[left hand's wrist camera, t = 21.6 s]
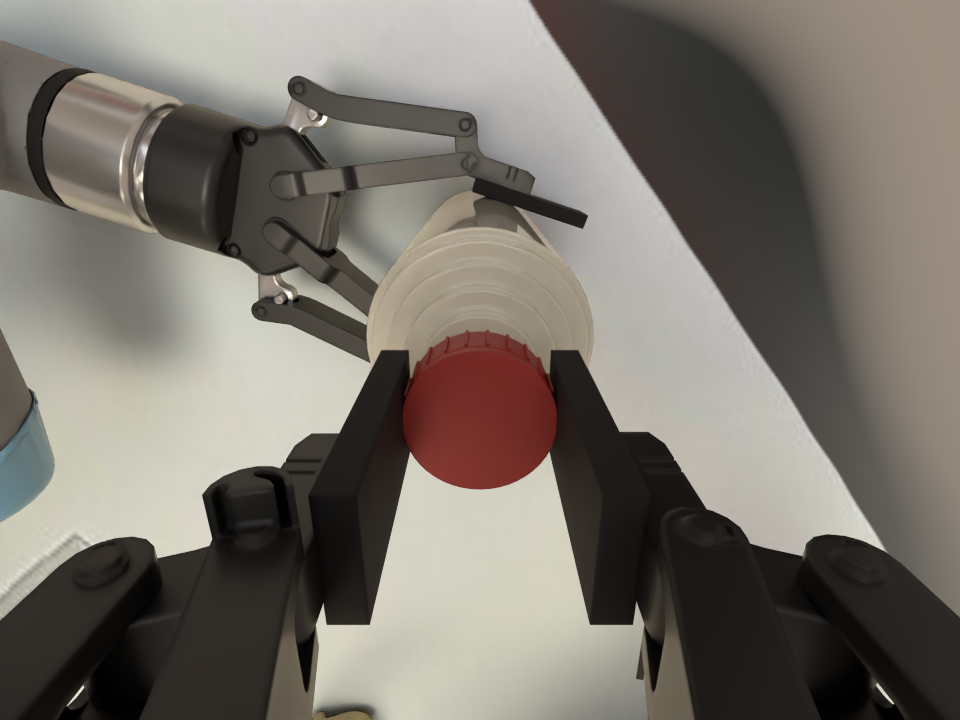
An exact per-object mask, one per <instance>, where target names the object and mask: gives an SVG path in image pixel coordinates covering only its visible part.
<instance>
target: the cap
mask: <svg viewBox="0 0 960 720" xmlns="http://www.w3.org/2000/svg"><path fill="white" fill-rule="evenodd" d="M554 392H555V391H554V388H553V385H552V382H551V378H550V375H549V373H547V374H546V371H545V369H544V367H543V365H542V362H541V359H540V357H538V358H537V357H536V356H535V355H534V354H533V353H532V352H531V351H530V350H529V349H528V347H527V345H526V344H525V343H524V345H523V344H521V343H520V342H518V341H516V340H514V339H512V338H510V336H509V335H508V334H506V336H504V335H501V334H498V333H493V332H489V330H486V332H481V331H477V332H469V331H468V330H466V331H465V333H462V334H458V335H455V336H452V337H450V338H449V336H447V337H446V338H445V340H443V341H442V342H440V343H439V344H437V345H436V346H434V347H433V348H432V347H429V350H428V352H427V353H426V354H425V356H424V357H423V358H422V359H421V360H420V361H417V362H416V365H415V369H414V372H413V375H412V378H411V377H409V380H408V383H407V387H406V390H405V393H404V397H406V398H405V402H404V405H403V430H404V438H405V441H406V444H407V446H408V448H409V450H410V452H411V453H412V455H413V456H414V458H415V459H416V460H417V462H418V463H419V464H420V465H421V466H422V467H423V468H424V469H425V470H426V471H428V472H429V473H430V474H432V475H433V476H435V477H436V478H438V479H440V480H442V481H444V482H446V483H449V484H451V485H454V486H458V487H462V488H468V489H492V488H497V487H502V486H505V485H508V484H511V483H513V482H516V481H518V480H520V479H522V478H523V477H525V476H527V475H528V474H529V473H531V472H532V471H533V470H534V469H535V468H537V467H538V466H539V465H540V464H541V462H542V461H543V460H544V459H545V457H546V456H547V454H548V453H549V451H550V449H551V447H552V445H553V443H554V440H555V437H556V424H557V407H556V403H555V399H554V396H553V393H554Z"/></svg>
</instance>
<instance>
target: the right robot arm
mask: <svg viewBox="0 0 960 720" xmlns="http://www.w3.org/2000/svg"><path fill="white" fill-rule="evenodd" d="M288 91H289V94H290V96H291V97H292V99H291V102H290V105H289V108H288V111H287V114H286V117H285V120H284V123H283V125H276V126H272V127H262V126H259V125H256V124H252V123H249V122H246V121H243V120H240V119H237V118H234V117H231V116H228V115H225V114H222V113H219V112H216V111H213V110H210V109H207V108H204V107H201V106H198V105H195V104H185V105H183V104H182V103H181V102H180V101H179V100H177V99H176V98H174V97H171V96H168V95H165V94H162V93H159V92H156V91H153V90H150V89H147V88H144V87H141V86H138V85H135V84H131V83H128V82H125V81H122V80H119V79H116V78H113V77H110V76H107V75H104V74H101V73H96V72H93V71H90V70H86V69H81V68H78V67H75V66H72V65H69V64H66V63H63V62H61V61H58V60H55V59H52V58H49V57H46V56H44V55H41V54H38V53H35V52H32V51H30V50H27V49H24V48H21V47H18V46H15V45H13V44H10V43H7V42H4V41H1V40H0V189H1V190H6V191H11V192H14V193H18V194H22V195H25V196H28V197H32V198H35V199H39V200H42V201H46V202H49V203H52V204H56V205H59V206H63V207H66V208H69V209H72V210H75V211H79V212H82V213H86V214H89V215H92V216H95V217H99V218H102V219H105V220H108V221H111V222H115V223H118V224H121V225H124V226H128V227H131V228H134V229H137V230H141V231H144V232H147V233H160V234H161V235H162V236H164V237H165V238H167V239H171V240H174V241H177V242H181V243H184V244H187V245H191V246H194V247H197V248H200V249H204V250H207V251H210V252H214V253H217V254H220V255H224V256H227V257H231V258H235V259H238V260H240V261H242V262H244V263H245V264H246V265H248V266H249V267H250V268H251V269H252V270H253V271H254V272H256V273H258V279H259V300H258V301H257V302H256V303H254V304H253V306H252V309H251V311H252V314H253V316H254V317H255V318H256V319H258V320H261V321H267V322H274V323H282V324H289V325H292V326H294V327H296V328H298V329H300V330H302V331H304V332H306V333H309V334H311V335H313V336H315V337H317V338H319V339H321V340H323V341H325V342H327V343H330V344H332V345H334V346H336V347H338V348H340V349H342V350H344V351H346V352H348V353H351V354H353V355H355V356H357V357H359V358H361V359H363V360H365V361H367V362H369V363H370V358H369V354H368V349H367V337H366V333H367V325H365V324H363V323H361V322H359V321H357V320H355V319H353V318H351V317H349V316H347V315H345V314H343V313H340V312H338V311H336V310H334V309H332V308H330V307H328V306H326V305H324V304H322V303H320V302H318V301H316V300H314V299H311V298H309V297H305V296H302V295H298V292H297V290H296V288H295V287H293V286H292V285H289V284H287V283H285V282H284V281H283V279H282V278H281V274H280V273H283V272H286V271H289V270H292V269H295V268H298V267H302V268H303V269H304V270H305V271H307V272H308V273H309V274H310V275H312V276H313V277H314V278H315V279H317V280H318V281H319V282H321V283H325V284H327V285H329V286H330V287H331V288H333V289H334V290H335V291H336V292H338V293H339V294H340V295H341V296H343V297H344V298H345V299H346V300H348V301H349V302H350V303H351V304H353V305H354V306H355V307H356V308H358V309H359V310H360V311H361V312H363V313H364V314H365V315H366V316H367V317H368V315H369V310H370V306H371V303H372V300H373V297H374V294H375V292H376V290H377V288H378V286H379V285H378V284H376V283H375V282H374V281H373V280H371V279H370V278H369V277H368V276H367V275H365V274H364V273H363V272H362V271H361V270H359V269H358V268H357V267H356V266H355V265H353V264H352V263H351V262H350V261H349V260H348V258H347V256H346V255H345V254H344V253H343V252H341V251H340V250H339V249H338V248H337V247H335V246H336V245H337V241H338V236H339V221H338V220H339V217H340V215H341V213H342V212H343V210H344V208H345V204H346V199H347V194H345V191H347V190H354V189H361V188H369V187H377V186H386V185H394V184H402V183H410V182H418V181H426V180H434V179H442V178H451V177H459V176H470V177H473V178H476V179H475V182H474V186H473V189H472V192H473V193H476V194H479V195H482V196H485V197H489V198H492V199H495V200H498V201H501V202H504V203H507V204H510V205H513V206H516V207H519V208H522V209H525V210H528V211H531V212H534V213H537V214H540V215H543V216H546V217H549V218H552V219H555V220H558V221H561V222H564V223H567V224H570V225H573V226H576V227H579V228H582V229H583V228H584V225H585V222H586V220H587V217H588V215H586V214H584V213H582V212H581V211H579V210H576V209H573V208H570V207H567V206H564V205H561V204H558V203H555V202H552V201H549V200H546V199H543V198H540V197H537V196H534V195H531V194H530V193H531V190H532V187H533V184H534V181H535V177H533V176H532V175H531V174H530V173H529V172H528V171H525V170H522V169H519V168H516V167H513V166H510V165H507V164H504V163H501V162H498V161H495V160H492V159H490V158H487V157H485V156H484V155H482V154H481V152H480V151H479V148H478V138H477V122H476V119H475V117H474V116H473V115H472V114H470V113H468V112H462V111H455V110H447V109H440V108H433V107H426V106H418V105H411V104H404V103H397V102H389V101H382V100H375V99H368V98H360V97H353V96H346V95H339V94H336V93H334V92H333V91H331V90H329V89H327V88H325V87H323V86H322V85H320V84H318V83H316V82H313V81H311V80H309V79H307V78H304V77H301V76H294V77H293V78H291V79H290V81H289V83H288ZM332 119H337V120H341V121H345V122H350V123H356V124H363V125H370V126H378V127H385V128H393V129H400V130H407V131H415V132H422V133H429V134H437V135H444V136H451V137H455V146H456V153H450V154H442V155H434V156H426V157H418V158H410V159H402V160H394V161H386V162H378V163H370V164H363V165H354V166H346V167H338V168H331V166H330V165H329V164H328V163H327V161H326V160H325V159H324V158H323V156H322V155H321V154H320V153H319V151H318V150H317V149H316V148H315V146H314V145H313V144H312V142H311V141H310V140H309V139H308V137H307V136H306V135H305V134H306V132H307V130H308V129H309V128H311V127H318V128H326V127H328V126H329V125H330V124H331V122H332ZM54 467H55V464H54V456H53V453H52V450H51V447H50V443H49V440H48V437H47V434H46V431H45V427H44V424H43V421H42V418H41V415H40V412H39V408H38V401H37V398H36V395H35V393H34V392H33V391H32V390H30V389H29V388H28V387H27V385H26V383H25V381H24V379H23V377H22V375H21V372H20V370H19V368H18V366H17V364H16V362H15V359H14V357H13V355H12V353H11V351H10V349H9V346H8V344H7V342H6V340H5V338H4V336H3V333H2V331H1V329H0V522H2V521H4V520H5V519H7V518H9V517H10V516H12V515H14V514H15V513H17V512H18V511H20V510H21V509H23V508H24V507H25V506H27V505H28V504H29V503H30V502H32V501H33V500H34V499H35V498H36V497H37V496H38V495H39V494H40V493H41V492H42V491H43V490H44V489H45V488H46V486H47V485H48V483H49V482H50V480H51V478H52V475H53V473H54Z"/></svg>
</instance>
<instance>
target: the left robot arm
mask: <svg viewBox="0 0 960 720" xmlns="http://www.w3.org/2000/svg"><path fill="white" fill-rule="evenodd" d="M549 375H550V378H551V382H552V385H553V388H554V391H555V392H554V393H553V396H554V399H555V403H556V407H557V424H556V437H555V440H554V443H553V445H552V447H551V449H550V456H551V460H552V464H553V468H554V473H555V477H556V481H557V486H558V490H559V494H560V498H561V503H562V507H563V511H564V516H565V520H566V524H567V528H568V533H569V537H570V541H571V546H572V550H573V554H574V558H575V563H576V567H577V571H578V576H579V580H580V584H581V588H582V593H583V597H584V601H585V606H586V610H587V614H588V618H589V623H590V625H633V620H634V614H635V607H636V601H637V604H638V607H639V610H640V612H641V615H642V618H643V621H644V624H645V625H644V631H643V637H642V644H641V650H640V657H639V663H638V670H637V677H636V679H641V680H643V677H644V679H645V689H646V699H647V709H648V719H649V720H960V617H959V616H958V615H956V614H955V613H954V612H953V611H952V610H951V609H950V608H949V607H948V606H947V605H946V604H944V603H943V602H942V601H941V600H940V599H939V598H938V597H937V596H936V595H935V594H934V593H932V592H931V591H930V590H929V589H928V588H927V587H926V586H925V585H924V584H923V583H922V582H921V581H919V580H918V579H917V578H916V577H915V576H914V575H913V574H912V573H911V572H910V571H909V570H907V569H906V568H905V567H904V566H903V565H902V564H901V563H900V562H898V561H897V560H896V559H894V558H893V557H891V556H890V555H889V554H887V553H886V552H885V551H883V550H881V549H878V548H876V547H874V546H872V545H870V544H868V543H866V542H864V541H861V540H858V539H854V538H850V537H847V536H839V535H829V534H827V535H822V536H817V537H813V538H812V539H811V540H810V541H809V542H808V543H807V544H806V547H805V550H804V554H803V556H799V555H795V554H790V553H785V552H781V551H776V550H771V549H767V548H763V547H760V546H756V545H753V544H750V543H749V540H748V538H747V537H746V535H745V534H744V532H743V531H742V529H741V528H740V527H739V526H738V525H736V524H735V523H734V522H732V521H731V520H730V519H728V518H727V517H724V516H722V515H720V514H718V513H716V512H713V511H710V510H707V509H706V508H705V506H704V504H703V503H702V501H701V500H700V498H699V497H698V495H697V493H696V492H695V490H694V489H693V487H692V486H691V484H690V482H689V481H688V479H687V478H686V476H685V475H684V473H683V472H681V468H680V467H679V465H678V464H677V462H676V461H674V457H673V456H672V454H671V453H670V451H669V450H668V448H667V446H666V445H665V444H664V443H663V442H662V441H660V440H659V439H657V438H656V437H654V436H653V435H652V434H650V433H649V432H619V430H618V428H617V426H616V424H615V422H614V420H613V418H612V416H611V414H610V412H609V410H608V408H607V406H606V404H605V402H604V400H603V398H602V396H601V394H600V392H599V390H598V388H597V386H596V384H595V382H594V380H593V378H592V376H591V374H590V372H589V370H588V368H587V366H586V364H585V362H584V360H583V358H582V356H581V354H580V352H579V350H551V355H550V374H549ZM409 377H410V362H409V350H381V352H380V354H379V356H378V357H377V359H376V361H375V363H374V365H373V367H372V369H371V371H370V373H369V375H368V377H367V379H366V381H365V383H364V385H363V387H362V389H361V391H360V393H359V395H358V397H357V399H356V401H355V403H354V405H353V407H352V409H351V411H350V413H349V415H348V417H347V419H346V421H345V423H344V425H343V427H342V429H341V431H340V433H339V434H311V435H309V436H308V437H306V438H305V439H304V440H302V441H301V442H299V443H298V444H297V445H295V446H294V448H293V449H292V451H291V453H290V454H289V456H288V457H287V459H286V462H284V464H283V465H282V467H281V468H277V467H273V466H256V467H251V468H246V469H241V470H238V471H236V472H233V473H230V474H228V475H225V476H223V477H222V478H220V479H219V480H217V481H216V482H214V483H213V484H211V485H210V486H209V487H208V488H207V490H206V491H205V492H204V493H203V495H202V496H203V501H204V505H205V509H206V513H207V518H208V522H209V526H210V531H211V535H212V541H211V544H210V546H208V547H204V548H201V549H197V550H194V551H189V552H185V553H180V554H176V555H171V556H166V557H162V558H157V555H156V552H155V548H154V546H153V545H152V544H151V543H150V542H149V541H148V540H146V539H142V538H137V537H124V538H115V539H111V540H107V541H105V542H104V541H103V542H101V543H98V544H95V545H93V546H91V547H89V548H87V549H85V550H83V551H81V552H79V553H77V554H75V555H74V556H72V557H71V558H69V559H68V560H67V561H65V562H64V563H63V564H61V565H60V566H59V567H58V568H57V569H56V570H54V571H53V572H52V573H51V574H50V575H49V576H48V577H47V578H46V579H45V580H44V581H43V582H42V583H40V584H39V585H38V586H37V587H36V588H35V589H34V590H33V591H32V592H31V593H30V594H29V595H28V596H26V597H25V598H24V599H23V600H22V601H21V602H20V603H19V604H18V605H17V606H16V607H15V608H13V609H12V610H11V611H10V612H9V613H8V614H7V615H6V616H5V617H4V618H3V619H2V620H1V621H0V720H312V710H313V700H314V690H315V680H316V670H317V660H318V650H319V645H318V638H317V631H316V623H317V620H318V617H319V614H320V611H321V608H322V605H323V602H324V609H325V616H326V623H327V625H370V621H371V617H372V613H373V608H374V604H375V600H376V596H377V591H378V587H379V583H380V578H381V574H382V570H383V566H384V561H385V557H386V553H387V548H388V544H389V540H390V536H391V531H392V527H393V523H394V518H395V514H396V510H397V506H398V501H399V497H400V493H401V488H402V484H403V480H404V476H405V471H406V467H407V463H408V458H409V454H410V450H409V448H408V446H407V444H406V441H405V438H404V430H403V405H404V402H405V398H406V397H404V393H405V390H406V387H407V383H408V380H409ZM877 682H878V684H879V685H880V686H881V687H882V689H883V690H884V691H885V692H886V694H887V695H888V696H889V697H890V699H891V700H892V701H893V702H894V705H893V704H892V703H890V702H889V701H888V700H887V699H886V698H885V696H884V695H883V694H882V693H881V692H880V690H879V689H878V688H877V686H876V684H877ZM83 685H84V689H83V690H82V692H81V693H80V694H79V695H78V697H77V698H76V699H75V700H74V701H73V702H72V703H71V704H69V705H68V703H69V702H70V701H71V700H72V698H73V697H74V696H75V694H76V693H77V692H78V691H79V689H80V688H81V687H82V686H83ZM67 705H68V706H67Z"/></svg>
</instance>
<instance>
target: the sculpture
mask: <svg viewBox="0 0 960 720" xmlns="http://www.w3.org/2000/svg"><path fill="white" fill-rule="evenodd" d="M312 720H371V718H370V717H369V716H368V715H367V714H365V713H363V712H358V711H350V712H345V713H342V714H339V715H336V716H333V717H330V718H326V716H325V714H324V713H323V712H320V713H317V714H315V715H314V716H313V718H312Z"/></svg>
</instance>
